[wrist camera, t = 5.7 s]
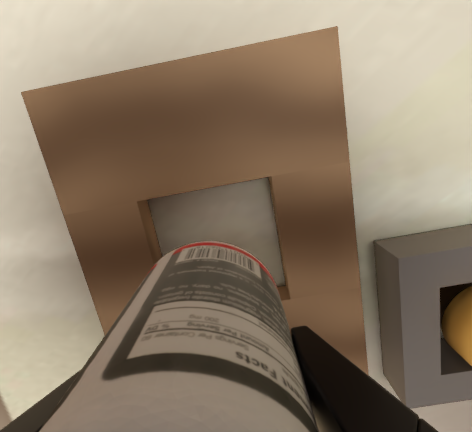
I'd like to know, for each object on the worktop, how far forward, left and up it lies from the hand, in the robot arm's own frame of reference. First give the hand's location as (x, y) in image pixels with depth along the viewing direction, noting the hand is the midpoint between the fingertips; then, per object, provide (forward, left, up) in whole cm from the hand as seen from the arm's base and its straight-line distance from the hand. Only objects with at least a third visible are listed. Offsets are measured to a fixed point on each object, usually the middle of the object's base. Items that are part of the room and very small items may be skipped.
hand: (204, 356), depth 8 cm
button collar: (-6, -13, -9) cm, 17 cm away
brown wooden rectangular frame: (0, 0, -9) cm, 9 cm away
